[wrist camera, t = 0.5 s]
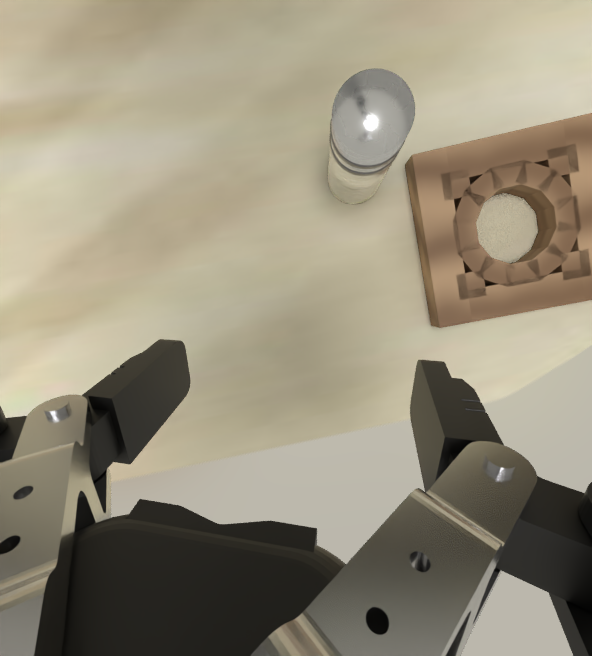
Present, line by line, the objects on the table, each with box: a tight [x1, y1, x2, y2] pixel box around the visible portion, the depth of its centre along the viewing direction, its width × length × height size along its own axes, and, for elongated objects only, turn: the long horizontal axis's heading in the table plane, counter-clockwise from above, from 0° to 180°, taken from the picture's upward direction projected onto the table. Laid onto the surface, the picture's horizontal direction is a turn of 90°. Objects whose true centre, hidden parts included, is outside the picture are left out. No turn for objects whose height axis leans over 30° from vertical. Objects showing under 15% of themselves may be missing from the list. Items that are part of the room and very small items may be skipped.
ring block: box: [405, 113, 592, 328], centre depth 31 cm, size 16×16×2 cm
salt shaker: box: [328, 69, 415, 204], centre depth 27 cm, size 5×5×12 cm
